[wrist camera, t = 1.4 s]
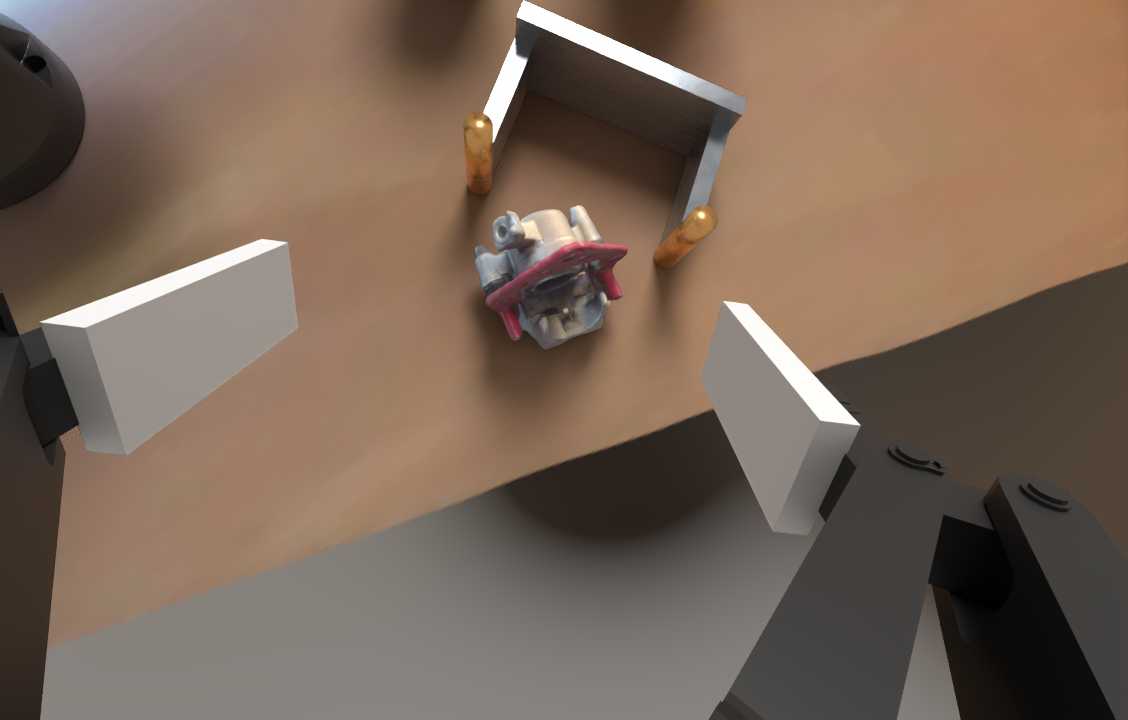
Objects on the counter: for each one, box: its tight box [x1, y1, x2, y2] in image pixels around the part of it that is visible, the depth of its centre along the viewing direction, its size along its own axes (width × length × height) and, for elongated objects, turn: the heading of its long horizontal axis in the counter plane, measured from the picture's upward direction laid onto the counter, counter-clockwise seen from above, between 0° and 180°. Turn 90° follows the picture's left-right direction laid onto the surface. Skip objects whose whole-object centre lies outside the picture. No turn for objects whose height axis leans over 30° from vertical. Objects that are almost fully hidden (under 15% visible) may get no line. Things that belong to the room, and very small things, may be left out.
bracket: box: [463, 1, 747, 269], centre depth 39 cm, size 19×12×8 cm, turn 71°
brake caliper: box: [475, 206, 627, 349], centre depth 37 cm, size 11×11×12 cm
